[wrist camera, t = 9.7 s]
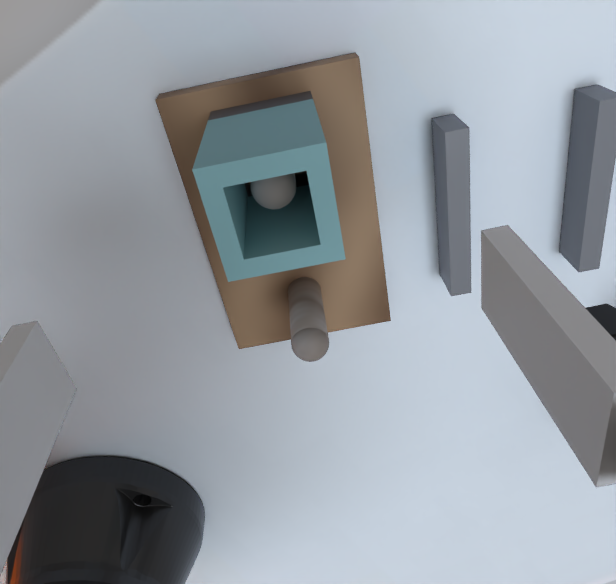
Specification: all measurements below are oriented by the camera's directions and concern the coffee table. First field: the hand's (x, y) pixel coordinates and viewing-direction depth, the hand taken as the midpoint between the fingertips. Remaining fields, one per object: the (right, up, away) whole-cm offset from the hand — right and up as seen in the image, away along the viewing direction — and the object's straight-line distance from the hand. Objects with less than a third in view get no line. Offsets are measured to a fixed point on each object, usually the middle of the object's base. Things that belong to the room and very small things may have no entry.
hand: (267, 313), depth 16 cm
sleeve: (-1, +8, +12) cm, 14 cm away
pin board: (0, +5, +15) cm, 16 cm away
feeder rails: (+13, +7, +15) cm, 21 cm away
